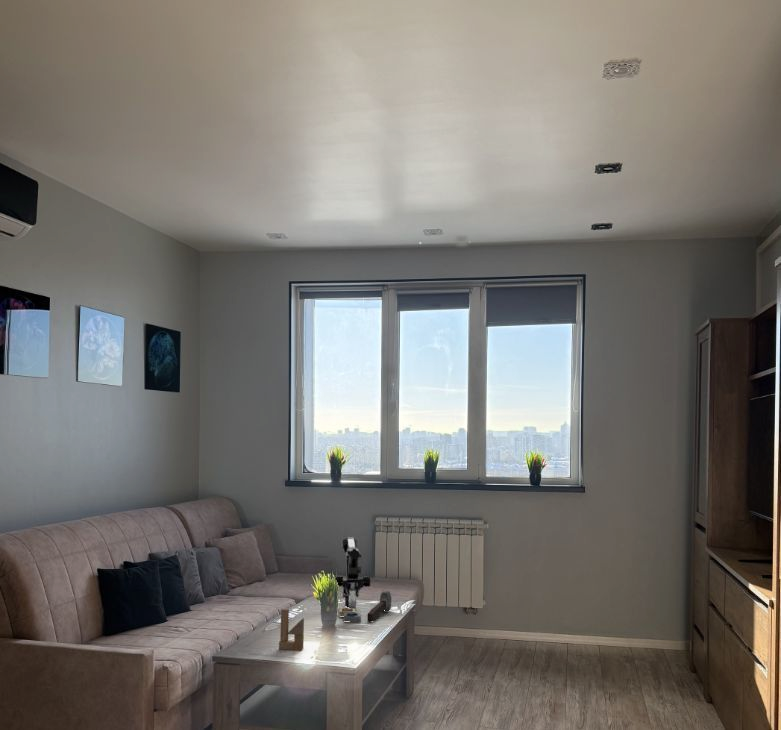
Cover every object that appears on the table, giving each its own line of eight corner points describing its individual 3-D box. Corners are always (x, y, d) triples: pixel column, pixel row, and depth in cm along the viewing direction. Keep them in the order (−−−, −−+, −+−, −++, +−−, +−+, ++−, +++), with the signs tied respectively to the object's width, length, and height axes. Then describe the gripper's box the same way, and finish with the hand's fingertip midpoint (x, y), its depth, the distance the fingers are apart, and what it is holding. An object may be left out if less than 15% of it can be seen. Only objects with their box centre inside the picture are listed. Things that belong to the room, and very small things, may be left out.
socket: (344, 618, 426) (344, 612, 427) (360, 618, 427) (361, 612, 427) (343, 622, 417) (343, 616, 418) (360, 622, 418) (360, 616, 418)
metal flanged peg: (348, 606, 425) (349, 582, 426) (356, 606, 425) (356, 582, 426) (348, 608, 421) (348, 583, 422) (356, 608, 421) (356, 583, 422)
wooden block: (301, 651, 363) (302, 610, 364) (278, 649, 365) (279, 609, 366) (303, 649, 366) (304, 609, 368) (281, 647, 368) (282, 607, 370)
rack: (340, 614, 436) (340, 608, 436) (354, 614, 436) (354, 608, 436) (339, 617, 428) (339, 611, 428) (354, 617, 428) (354, 611, 428)
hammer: (374, 629, 418) (391, 609, 447) (374, 608, 418) (391, 590, 446) (365, 628, 420) (383, 609, 448) (365, 607, 419) (382, 589, 448)
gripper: (335, 561, 428) (334, 586, 417) (370, 561, 429) (370, 586, 417) (336, 573, 436) (334, 598, 424) (370, 573, 436) (370, 598, 425)
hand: (352, 595), depth 422 cm, fingers closed on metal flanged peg, 4 cm apart
